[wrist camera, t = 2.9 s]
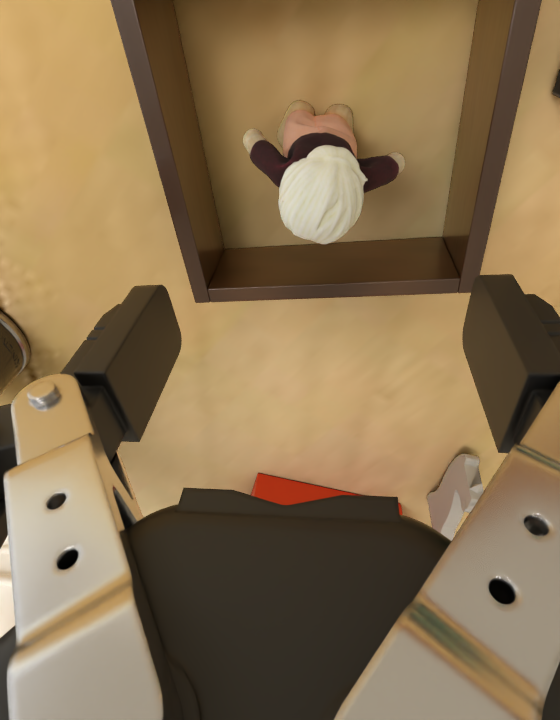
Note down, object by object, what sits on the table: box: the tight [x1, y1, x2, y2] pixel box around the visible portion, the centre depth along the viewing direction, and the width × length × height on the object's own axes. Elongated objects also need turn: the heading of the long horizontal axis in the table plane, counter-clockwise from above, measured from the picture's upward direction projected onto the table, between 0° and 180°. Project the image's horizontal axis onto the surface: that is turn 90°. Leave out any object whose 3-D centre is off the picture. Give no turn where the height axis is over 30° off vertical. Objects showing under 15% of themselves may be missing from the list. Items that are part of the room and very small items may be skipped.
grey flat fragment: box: [427, 454, 484, 541], centre depth 43 cm, size 6×1×10 cm
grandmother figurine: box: [243, 100, 405, 244], centre depth 20 cm, size 8×4×13 cm, turn 95°
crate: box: [111, 0, 542, 303], centre depth 22 cm, size 17×16×6 cm
